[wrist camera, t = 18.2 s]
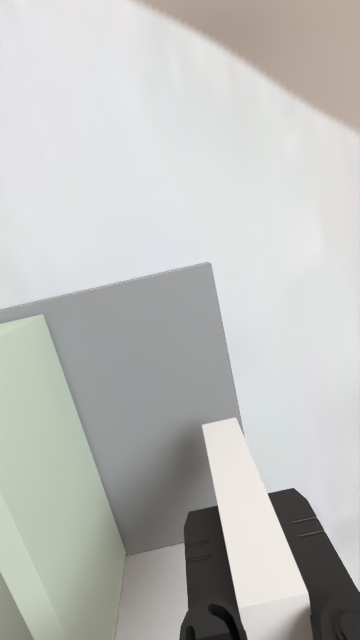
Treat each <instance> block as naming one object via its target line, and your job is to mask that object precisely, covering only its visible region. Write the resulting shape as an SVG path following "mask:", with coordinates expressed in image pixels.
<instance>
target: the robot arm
mask: <svg viewBox="0 0 360 640" xmlns="http://www.w3.org/2000/svg"><path fill="white" fill-rule="evenodd" d="M202 428H203V433H204V438H205V443H206V448H207V453H208V458H209V464H210V469H211V474H212V479H213V484H214V489H215V494H216V499H217V504H218V505H217V506H213V507H208V508H204V509H199V510H194V511H190V512H189V513H188V516H187V519H186V522H185V525H184V544H185V560H186V577H187V594H188V610H189V611H188V612H187V613H186V616H185V618H184V620H183V623H182V625H181V630H180V639H179V640H360V592H359V591H358V589H357V588H356V586H355V584H354V583H353V581H352V579H351V577H350V575H349V574H348V572H347V570H346V568H345V566H344V565H343V563H342V561H341V559H340V558H339V556H338V554H337V552H336V550H335V549H334V547H333V545H332V543H331V542H330V540H329V538H328V536H327V534H326V533H325V532H324V529H323V527H322V525H321V524H320V522H319V520H318V519H317V517H316V515H315V513H314V511H313V509H312V508H311V506H310V504H309V502H308V500H307V499H306V498H304V497H303V496H302V495H301V494H300V493H299V492H298V491H296V490H295V489H294V488H291V489H287V490H282V491H277V492H273V493H268V494H267V491H266V489H265V487H264V484H263V482H262V479H261V477H260V474H259V472H258V470H257V467H256V465H255V462H254V460H253V457H252V455H251V453H250V450H249V448H248V445H247V443H246V440H245V438H244V436H243V433H242V431H241V428H240V426H239V423H238V421H237V419H236V417H235V418H231V419H226V420H222V421H217V422H213V423H208V424H203V425H202Z"/></svg>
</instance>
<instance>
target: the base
mask: <svg viewBox="0 0 360 640" xmlns="http://www.w3.org/2000/svg"><path fill="white" fill-rule="evenodd" d="M41 314H43V315H44V318H45V321H46V324H47V327H48V330H49V333H50V335H51V338H52V341H53V344H54V347H55V350H56V353H57V356H58V358H59V361H60V364H61V367H62V370H63V373H64V376H65V379H66V381H67V384H68V387H69V390H70V393H71V396H72V399H73V402H74V404H75V407H76V410H77V413H78V416H79V419H80V422H81V425H82V428H83V430H84V433H85V436H86V439H87V442H88V445H89V448H90V451H91V453H92V456H93V459H94V462H95V465H96V468H97V471H98V474H99V476H100V479H101V482H102V485H103V488H104V491H105V494H106V497H107V499H108V502H109V505H110V508H111V511H112V514H113V517H114V520H115V522H116V525H117V528H118V531H119V534H120V537H121V540H122V543H123V545H124V548H125V551H126V555H125V556H128V555H133V554H137V553H141V552H146V551H150V550H154V549H159V548H163V547H167V546H172V545H176V544H180V543H184V525H185V522H186V519H187V516H188V513H189V512H190V511H194V510H199V509H204V508H208V507H213V506H217V505H218V504H217V499H216V494H215V489H214V484H213V479H212V474H211V469H210V464H209V458H208V453H207V448H206V443H205V438H204V433H203V428H202V425H203V424H208V423H213V422H217V421H222V420H226V419H231V418H235V417H236V419H237V421H238V423H239V426H240V428H241V431H242V433H243V436H244V432H243V427H242V422H241V416H240V411H239V406H238V401H237V396H236V390H235V385H234V380H233V375H232V370H231V364H230V359H229V354H228V349H227V344H226V338H225V333H224V328H223V323H222V318H221V312H220V307H219V302H218V297H217V292H216V286H215V281H214V276H213V271H212V266H211V263H208V262H206V263H201V264H197V265H193V266H188V267H184V268H180V269H175V270H171V271H166V272H162V273H158V274H153V275H149V276H145V277H140V278H136V279H132V280H127V281H123V282H118V283H114V284H110V285H105V286H101V287H97V288H92V289H88V290H84V291H79V292H75V293H70V294H66V295H62V296H57V297H53V298H49V299H44V300H40V301H36V302H31V303H27V304H23V305H18V306H14V307H9V308H5V309H1V310H0V324H1V323H6V322H10V321H14V320H19V319H23V318H28V317H32V316H36V315H41ZM244 438H245V437H244Z"/></svg>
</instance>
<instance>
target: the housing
mask: <svg viewBox="0 0 360 640" xmlns="http://www.w3.org/2000/svg"><path fill="white" fill-rule="evenodd" d="M125 555H126V551H125V548H124V545H123V543H122V540H121V537H120V534H119V531H118V528H117V525H116V522H115V520H114V517H113V514H112V511H111V508H110V505H109V502H108V499H107V497H106V494H105V491H104V488H103V485H102V482H101V479H100V476H99V474H98V471H97V468H96V465H95V462H94V459H93V456H92V453H91V451H90V448H89V445H88V442H87V439H86V436H85V433H84V430H83V428H82V425H81V422H80V419H79V416H78V413H77V410H76V407H75V404H74V402H73V399H72V396H71V393H70V390H69V387H68V384H67V381H66V379H65V376H64V373H63V370H62V367H61V364H60V361H59V358H58V356H57V353H56V350H55V347H54V344H53V341H52V338H51V335H50V333H49V330H48V327H47V324H46V321H45V318H44V315H43V314H41V315H36V316H32V317H28V318H23V319H19V320H14V321H10V322H6V323H1V324H0V640H115V635H116V627H117V619H118V611H119V603H120V595H121V587H122V579H123V571H124V563H125Z"/></svg>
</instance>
